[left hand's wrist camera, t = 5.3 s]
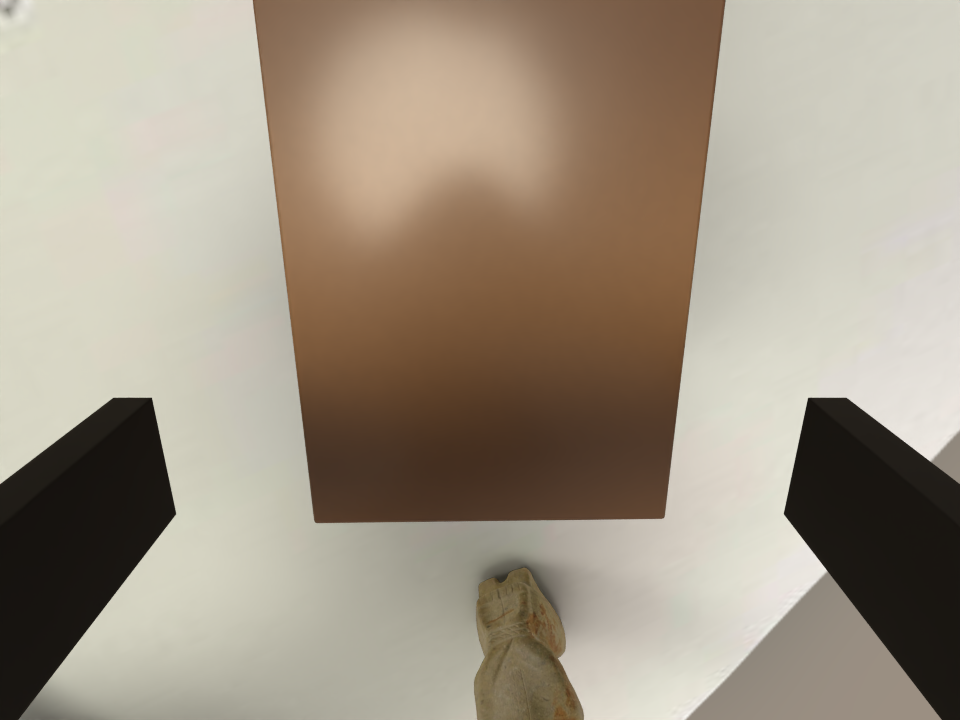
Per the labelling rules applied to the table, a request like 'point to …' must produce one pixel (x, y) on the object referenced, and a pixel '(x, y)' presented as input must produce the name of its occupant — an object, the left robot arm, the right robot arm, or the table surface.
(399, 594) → the table surface
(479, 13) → the box
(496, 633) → the sculpture
